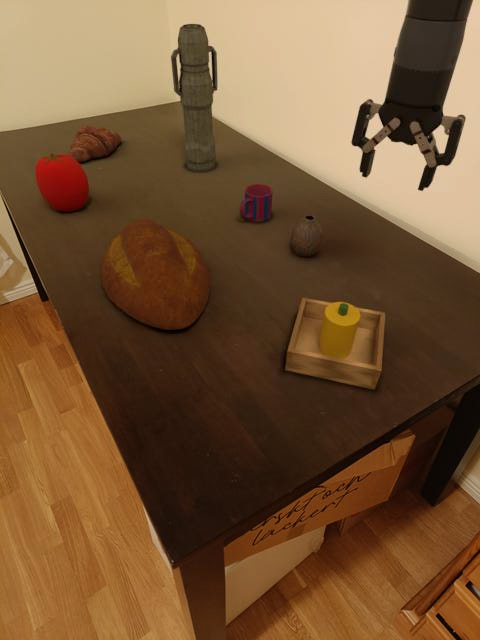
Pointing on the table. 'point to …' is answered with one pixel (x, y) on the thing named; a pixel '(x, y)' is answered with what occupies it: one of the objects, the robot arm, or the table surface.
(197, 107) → the grey stone totem
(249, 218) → the mug
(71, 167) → the red rounded lump
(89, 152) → the pastry
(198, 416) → the table surface
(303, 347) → the tray
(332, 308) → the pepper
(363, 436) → the table surface
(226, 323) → the table surface
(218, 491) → the table surface
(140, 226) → the bread
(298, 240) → the vase
